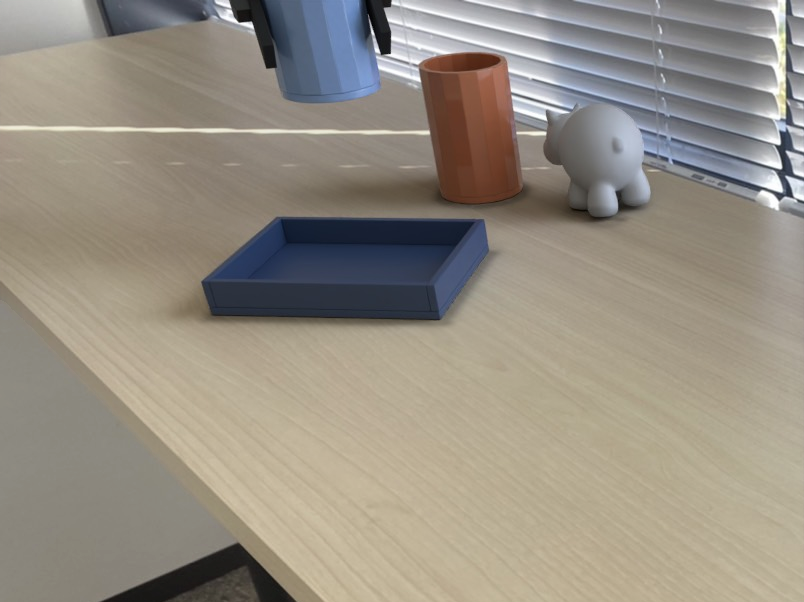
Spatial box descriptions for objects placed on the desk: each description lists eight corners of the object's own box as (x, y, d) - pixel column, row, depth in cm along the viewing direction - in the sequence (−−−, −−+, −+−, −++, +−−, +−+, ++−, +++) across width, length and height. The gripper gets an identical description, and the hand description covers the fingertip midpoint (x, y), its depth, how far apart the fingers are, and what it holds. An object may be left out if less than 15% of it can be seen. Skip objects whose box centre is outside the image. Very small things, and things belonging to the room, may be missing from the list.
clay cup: (430, 203, 103) (406, 73, 96) (454, 176, 109) (433, 51, 102) (511, 204, 102) (493, 73, 96) (531, 177, 108) (515, 51, 102)
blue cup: (265, 103, 86) (224, -63, 80) (303, 77, 92) (268, -79, 85) (362, 103, 85) (328, -64, 79) (394, 78, 91) (365, -80, 85)
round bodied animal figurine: (589, 174, 108) (580, 79, 103) (664, 207, 101) (658, 105, 96) (522, 192, 105) (509, 93, 100) (594, 227, 97) (584, 123, 92)
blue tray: (210, 315, 84) (200, 281, 83) (284, 247, 95) (276, 216, 93) (440, 319, 83) (434, 285, 81) (489, 250, 93) (484, 218, 92)
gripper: (381, -191, 93) (463, 63, 91) (106, -178, 87) (187, 98, 84) (381, -272, 86) (470, 2, 84) (81, -264, 79) (170, 34, 77)
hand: (328, 49), depth 84 cm, fingers closed on blue cup, 7 cm apart
